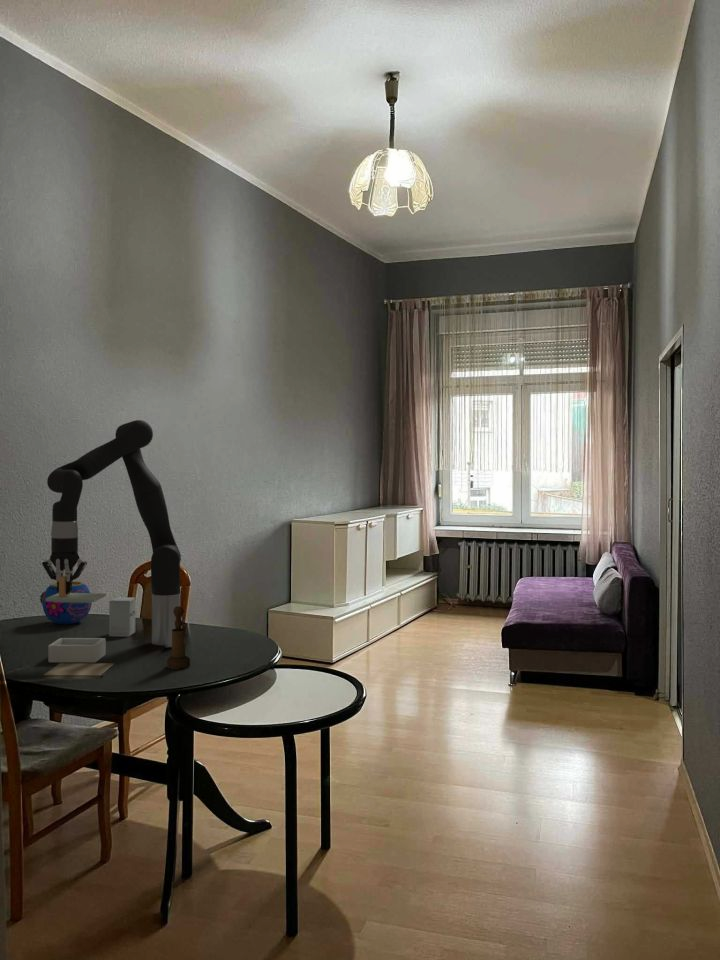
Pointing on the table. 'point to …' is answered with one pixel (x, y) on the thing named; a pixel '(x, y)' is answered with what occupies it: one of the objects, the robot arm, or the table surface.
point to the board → (78, 670)
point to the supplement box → (122, 617)
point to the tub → (77, 650)
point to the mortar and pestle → (178, 643)
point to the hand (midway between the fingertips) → (64, 593)
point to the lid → (73, 595)
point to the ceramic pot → (65, 605)
